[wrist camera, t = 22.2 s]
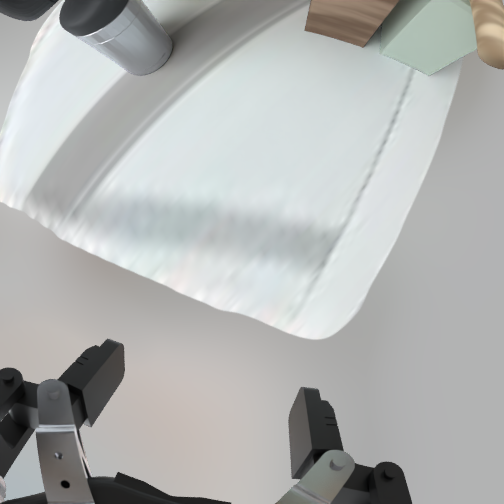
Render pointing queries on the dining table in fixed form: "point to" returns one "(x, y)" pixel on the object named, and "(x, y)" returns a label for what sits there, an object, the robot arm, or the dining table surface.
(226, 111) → the dining table surface
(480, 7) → the tan roll
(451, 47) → the pale green lidded tub
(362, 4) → the walnut tub
